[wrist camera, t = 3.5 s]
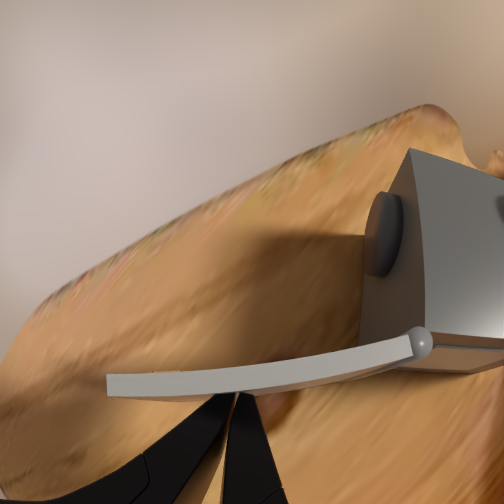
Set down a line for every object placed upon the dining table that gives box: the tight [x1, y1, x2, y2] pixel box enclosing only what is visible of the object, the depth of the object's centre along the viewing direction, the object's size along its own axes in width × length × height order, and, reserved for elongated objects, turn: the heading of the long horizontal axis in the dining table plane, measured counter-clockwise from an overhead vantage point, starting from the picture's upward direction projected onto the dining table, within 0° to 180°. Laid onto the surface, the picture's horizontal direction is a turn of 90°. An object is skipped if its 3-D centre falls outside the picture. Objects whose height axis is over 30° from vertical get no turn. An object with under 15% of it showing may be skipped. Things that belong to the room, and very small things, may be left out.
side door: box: [106, 326, 433, 402], centre depth 11 cm, size 9×1×8 cm, turn 97°
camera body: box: [357, 148, 504, 373], centre depth 12 cm, size 8×9×8 cm
